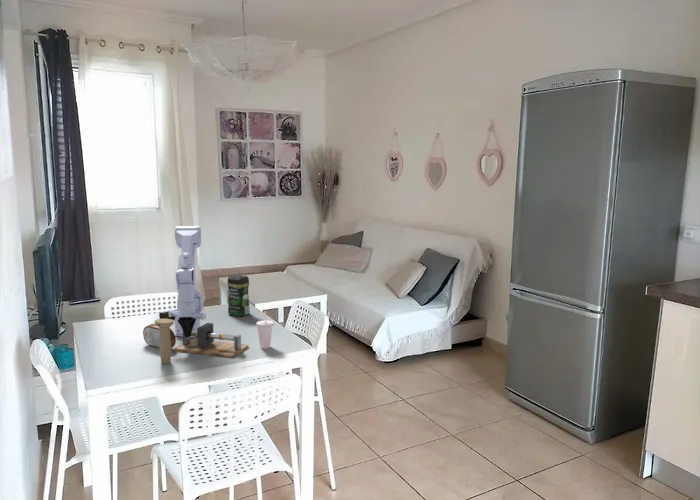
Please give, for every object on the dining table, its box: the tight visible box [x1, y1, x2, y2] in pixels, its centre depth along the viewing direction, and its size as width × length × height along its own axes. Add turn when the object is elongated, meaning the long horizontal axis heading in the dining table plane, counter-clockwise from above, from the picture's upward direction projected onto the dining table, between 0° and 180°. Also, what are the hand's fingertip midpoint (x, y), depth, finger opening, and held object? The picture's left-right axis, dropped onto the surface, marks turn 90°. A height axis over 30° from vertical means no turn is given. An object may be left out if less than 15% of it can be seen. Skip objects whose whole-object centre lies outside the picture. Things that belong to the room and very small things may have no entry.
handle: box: [154, 318, 175, 365], centre depth 186 cm, size 5×6×15 cm
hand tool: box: [158, 309, 177, 319], centre depth 243 cm, size 19×4×5 cm, turn 135°
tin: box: [142, 323, 177, 349], centre depth 202 cm, size 15×3×8 cm, turn 61°
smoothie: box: [256, 311, 274, 350], centre depth 202 cm, size 6×6×14 cm
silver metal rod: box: [182, 331, 242, 351], centre depth 200 cm, size 23×2×5 cm, turn 74°
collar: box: [196, 322, 215, 348], centre depth 200 cm, size 2×7×7 cm, turn 164°
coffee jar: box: [227, 273, 251, 317], centre depth 246 cm, size 10×8×19 cm
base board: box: [174, 338, 249, 359], centre depth 201 cm, size 24×12×1 cm, turn 74°
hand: (187, 336), depth 199 cm, fingers closed
